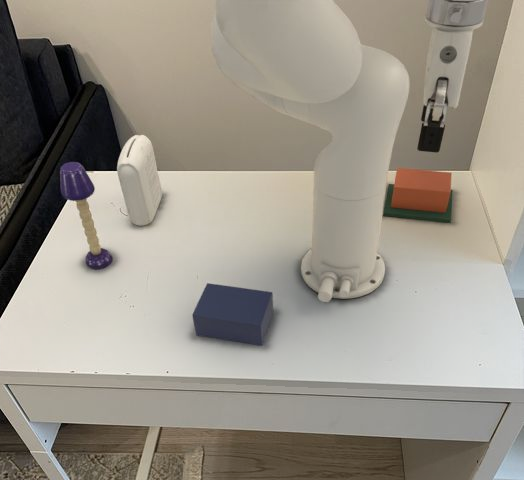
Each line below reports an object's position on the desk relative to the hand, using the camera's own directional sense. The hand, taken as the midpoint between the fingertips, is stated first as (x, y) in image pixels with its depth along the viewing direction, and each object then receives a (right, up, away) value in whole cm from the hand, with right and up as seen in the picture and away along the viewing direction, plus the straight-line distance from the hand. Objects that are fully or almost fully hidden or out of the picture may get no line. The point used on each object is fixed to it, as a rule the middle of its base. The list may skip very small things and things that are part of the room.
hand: (429, 135), depth 84 cm
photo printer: (-46, -8, +13) cm, 49 cm away
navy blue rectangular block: (-30, -29, -7) cm, 42 cm away
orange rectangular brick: (+1, -7, +10) cm, 12 cm away
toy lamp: (-52, -19, +4) cm, 55 cm away
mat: (+1, -8, +10) cm, 13 cm away
